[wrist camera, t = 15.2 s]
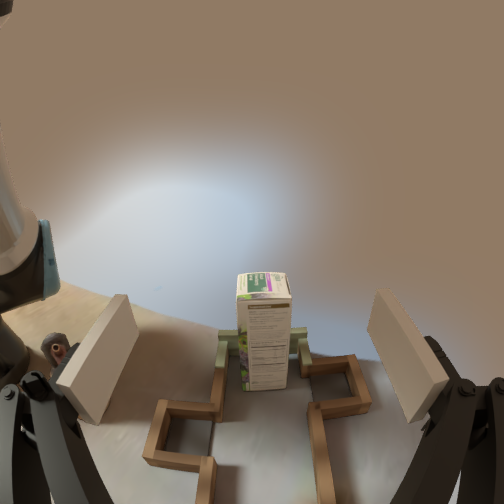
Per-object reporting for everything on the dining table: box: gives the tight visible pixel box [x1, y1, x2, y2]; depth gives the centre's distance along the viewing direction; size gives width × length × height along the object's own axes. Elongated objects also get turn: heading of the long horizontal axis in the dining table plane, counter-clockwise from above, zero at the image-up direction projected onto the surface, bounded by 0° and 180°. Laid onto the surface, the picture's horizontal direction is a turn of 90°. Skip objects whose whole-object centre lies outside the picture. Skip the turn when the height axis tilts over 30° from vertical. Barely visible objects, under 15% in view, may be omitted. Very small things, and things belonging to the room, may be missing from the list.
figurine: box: [41, 333, 110, 420], centre depth 26 cm, size 7×7×12 cm
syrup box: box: [236, 272, 292, 391], centre depth 32 cm, size 6×6×14 cm
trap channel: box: [142, 327, 372, 504], centre depth 26 cm, size 27×25×4 cm
